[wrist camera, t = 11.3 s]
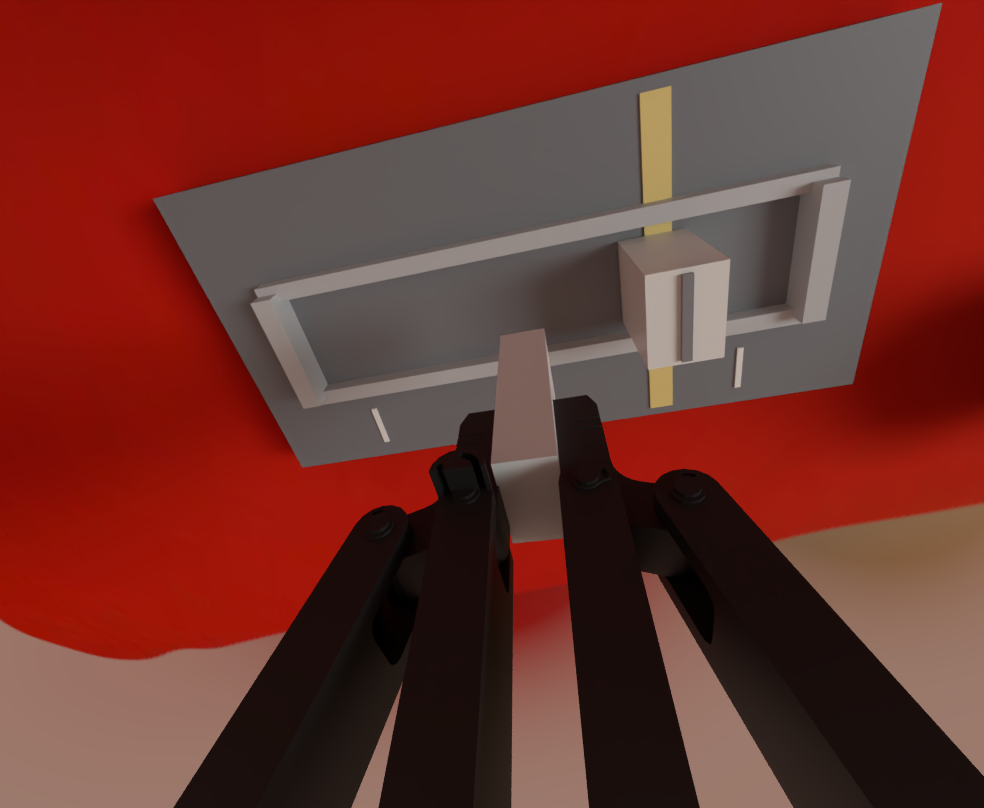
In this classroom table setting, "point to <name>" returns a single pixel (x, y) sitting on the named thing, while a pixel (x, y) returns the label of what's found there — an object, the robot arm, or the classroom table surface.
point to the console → (567, 242)
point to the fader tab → (674, 297)
